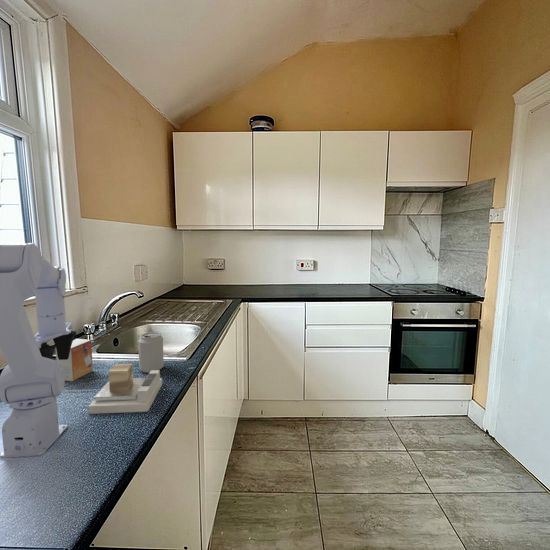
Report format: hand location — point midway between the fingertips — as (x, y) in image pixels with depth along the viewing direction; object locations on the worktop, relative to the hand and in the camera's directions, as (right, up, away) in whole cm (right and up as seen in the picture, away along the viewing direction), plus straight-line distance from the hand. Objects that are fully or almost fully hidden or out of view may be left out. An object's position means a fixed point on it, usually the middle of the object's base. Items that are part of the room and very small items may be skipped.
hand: (55, 365), depth 78 cm
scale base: (+17, -10, +5) cm, 20 cm away
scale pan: (+15, -8, +4) cm, 18 cm away
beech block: (+15, -7, +4) cm, 17 cm away
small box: (-6, -8, +17) cm, 20 cm away
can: (+16, -8, +23) cm, 29 cm away
